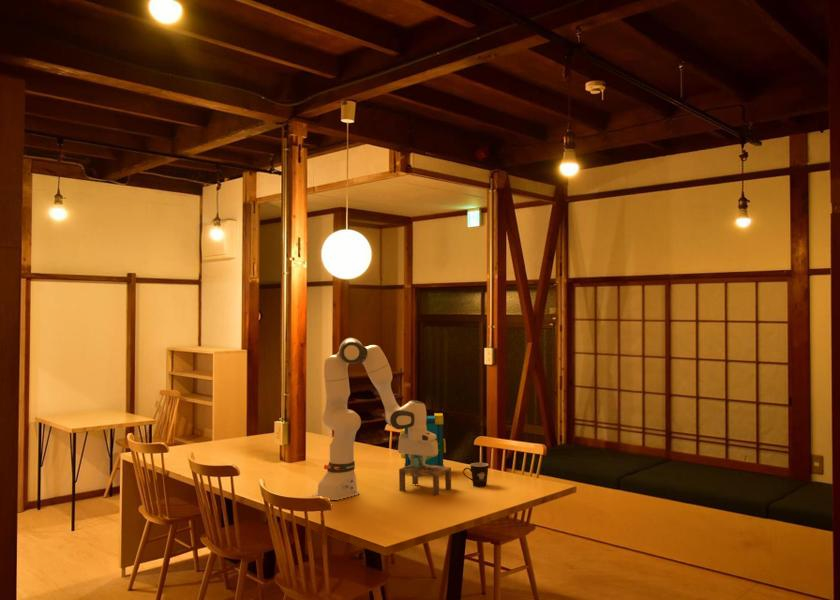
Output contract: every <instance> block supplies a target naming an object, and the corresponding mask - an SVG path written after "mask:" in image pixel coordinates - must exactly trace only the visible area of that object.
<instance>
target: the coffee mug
mask: <svg viewBox="0 0 840 600" xmlns="http://www.w3.org/2000/svg"><path fill="white" fill-rule="evenodd" d="M469 466H470V467H465V468H463V470H462V474H463V475H464V477H466V478H467V479H469V480H471V481H472V486H473V487H475V488H485V487H487V485H488V483H487V482H488V475H489V473H488V472H489V463H487V462H486V463H485V462H472V463H470V465H469ZM466 470H469V471H470V473H471V477H469V476H468V475H466V474H465V471H466Z"/></svg>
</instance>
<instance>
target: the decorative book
mask: <svg viewBox="0 0 840 600" xmlns="http://www.w3.org/2000/svg"><path fill="white" fill-rule="evenodd" d="M426 418H427V419H426V427H427V431H429V432H431V433H433V434H435V435H436V439H435V440H436V441H437V444H438V454H437V456H434V457H431V456H427V459H426V461H425V464H426V465H435V466H444V467H445V464H444V453H447V452H446V451H447V449H446V448H447V445H446V442H447V441H446V439H445V438H444V415H443V412H442V413H441V412H439V413H437V412H434V415H426ZM401 434H408V428H405V429H401V430H400V435H401ZM414 456H416V455H413V456H412V457H414ZM400 458H401V459H404V460H405V462H404V467H406V466H408V465H411V460H410V458H409V456H408V454H401V453H400ZM432 471H433V470H432ZM405 474H412V473H407V472H405ZM441 475H442V476H443V475H444V476H445V473H443V474H441Z"/></svg>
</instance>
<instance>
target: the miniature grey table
mask: <svg viewBox="0 0 840 600" xmlns="http://www.w3.org/2000/svg"><path fill="white" fill-rule="evenodd" d="M432 470H433V471H432ZM398 472H399V473H398V476H399V479H398V482H399V483H398V486H399V487H398V489H399V490H404V491H406V475H405V472H407V473H412V475H411V476H412V481H411V482H412V484H415V485H414V486H417V485H416V484H418V485H419V477H415V476H414V473H415V474H422V476H423V475H425V476H432V486H433V487H432V489H433V490H432V494H433V496H436V495H438V496H440V475H441V474H443V473H444V476H445V480H444V481H445V490H449V491H450V490H452V467H450V466H445V465H444V466H435V465H426V464H425V467H422V468H420V469H414V468H411V465H408V466H406V467H405V466H404V467H400V468H398Z"/></svg>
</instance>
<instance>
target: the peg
mask: <svg viewBox="0 0 840 600" xmlns="http://www.w3.org/2000/svg"><path fill="white" fill-rule="evenodd" d="M421 461H423V456H421V455H416V456H414V457H411V468H414V469H420V468H422V467H425V465H421ZM414 476H415V477H418V478H420V477H423V474H415V473H414Z"/></svg>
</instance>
